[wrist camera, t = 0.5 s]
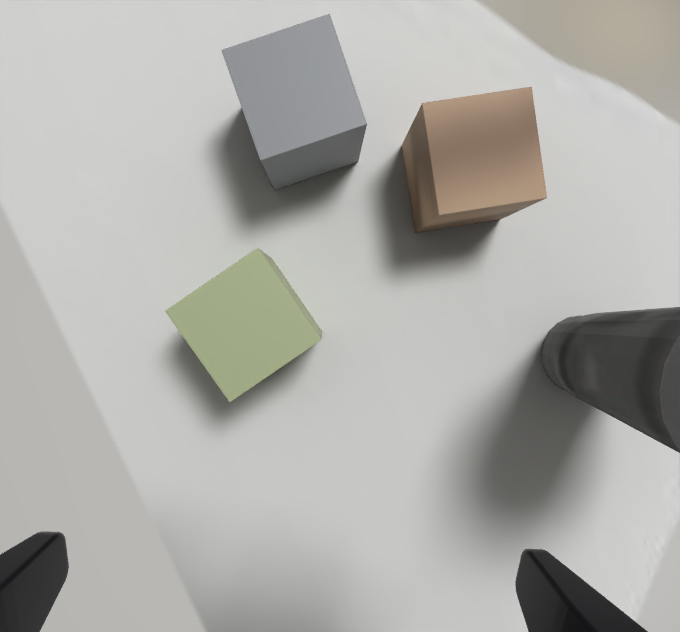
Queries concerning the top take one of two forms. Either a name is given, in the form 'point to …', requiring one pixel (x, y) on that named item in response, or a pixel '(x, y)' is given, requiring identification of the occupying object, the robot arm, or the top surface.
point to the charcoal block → (298, 101)
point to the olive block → (245, 323)
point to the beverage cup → (622, 367)
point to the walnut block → (473, 159)
